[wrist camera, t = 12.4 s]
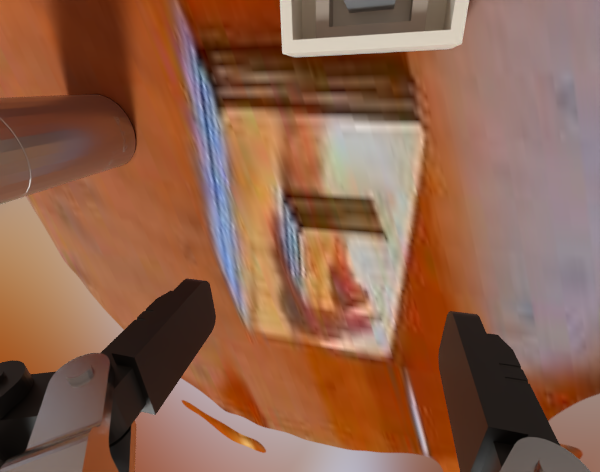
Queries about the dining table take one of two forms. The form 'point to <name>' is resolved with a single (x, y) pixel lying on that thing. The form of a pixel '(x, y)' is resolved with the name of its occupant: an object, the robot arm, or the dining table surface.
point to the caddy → (370, 27)
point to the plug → (368, 5)
